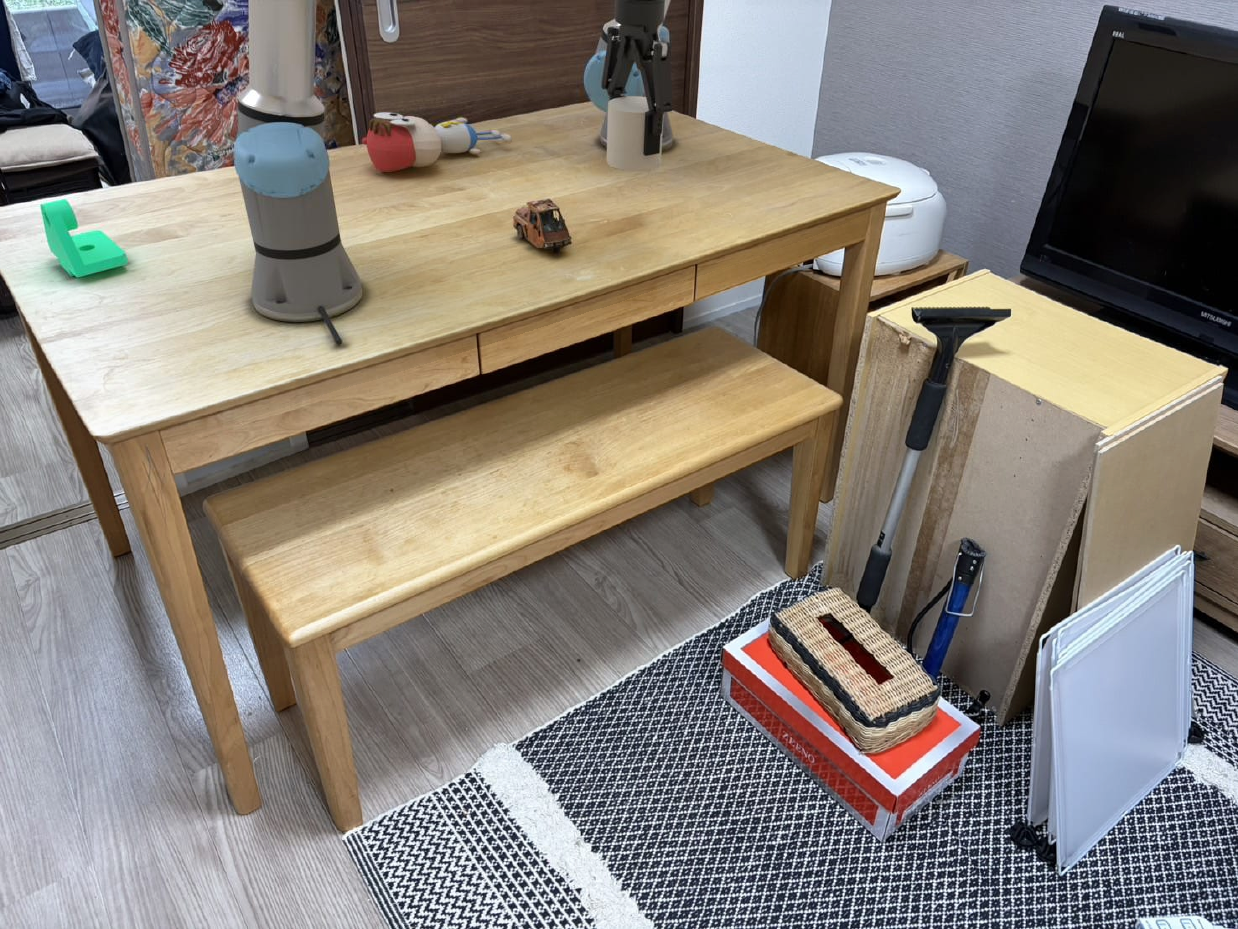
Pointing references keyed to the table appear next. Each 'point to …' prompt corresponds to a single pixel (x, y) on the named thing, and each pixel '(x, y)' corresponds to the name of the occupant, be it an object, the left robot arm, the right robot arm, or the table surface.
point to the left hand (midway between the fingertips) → (633, 145)
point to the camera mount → (78, 242)
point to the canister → (629, 135)
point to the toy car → (542, 225)
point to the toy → (418, 140)
